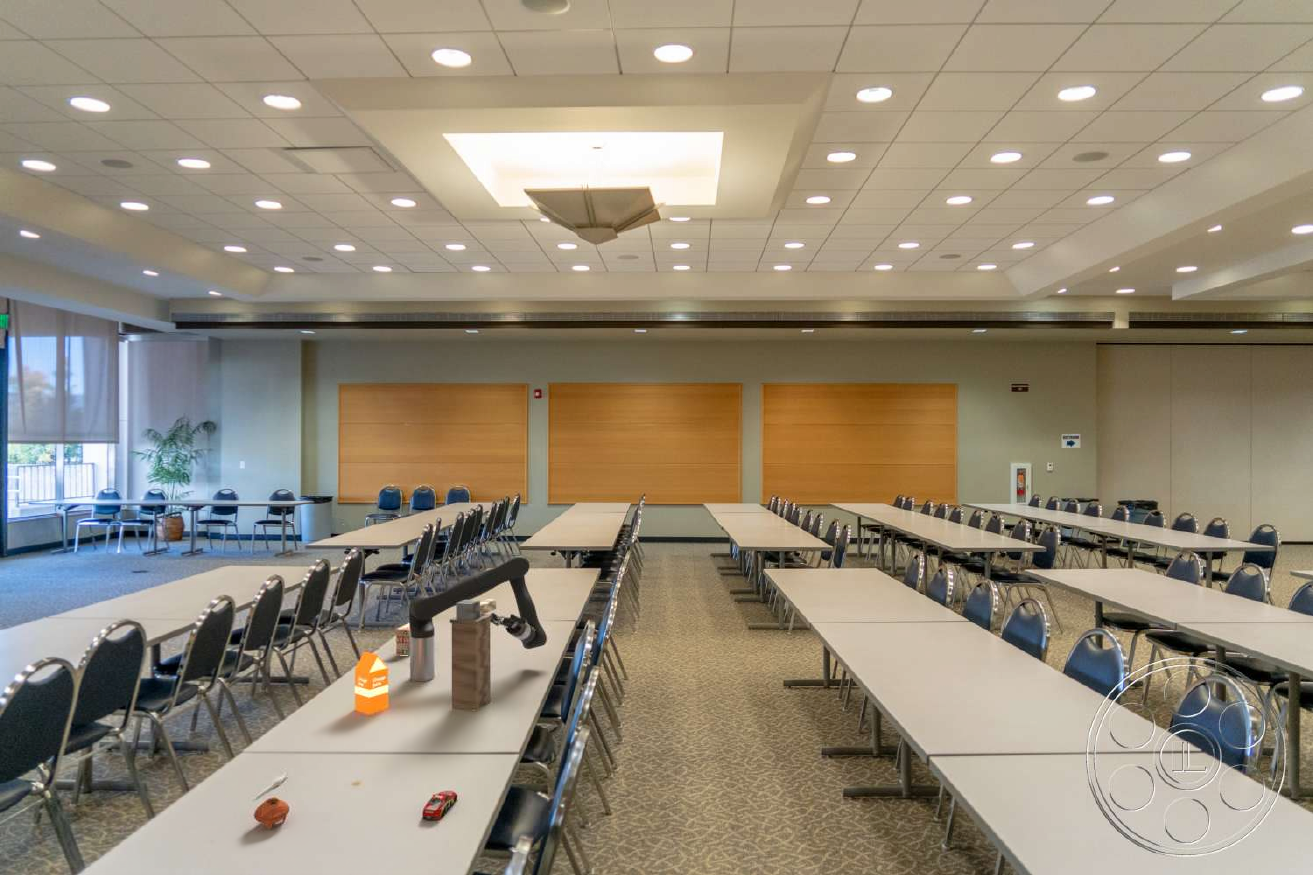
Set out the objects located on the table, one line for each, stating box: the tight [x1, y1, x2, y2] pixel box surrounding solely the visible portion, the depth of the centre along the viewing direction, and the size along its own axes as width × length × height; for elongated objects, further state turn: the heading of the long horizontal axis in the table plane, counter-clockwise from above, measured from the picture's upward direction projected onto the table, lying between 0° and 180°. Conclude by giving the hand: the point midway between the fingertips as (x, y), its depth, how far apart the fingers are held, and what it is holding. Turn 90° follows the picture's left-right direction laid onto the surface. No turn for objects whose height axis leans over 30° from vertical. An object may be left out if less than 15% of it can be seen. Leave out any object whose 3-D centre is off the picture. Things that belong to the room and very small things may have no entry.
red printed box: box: [395, 622, 411, 657], centre depth 351 cm, size 21×6×12 cm, turn 171°
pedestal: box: [449, 613, 492, 712], centre depth 277 cm, size 11×11×32 cm
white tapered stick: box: [253, 771, 290, 801], centre depth 211 cm, size 15×3×2 cm, turn 172°
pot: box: [253, 797, 290, 830], centre depth 191 cm, size 8×8×7 cm
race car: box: [421, 790, 458, 821], centre depth 199 cm, size 13×5×4 cm, turn 170°
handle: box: [455, 598, 497, 621], centre depth 282 cm, size 20×6×6 cm, turn 162°
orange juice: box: [354, 651, 389, 715], centre depth 273 cm, size 8×9×20 cm
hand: (501, 615), depth 298 cm, fingers open, 8 cm apart
